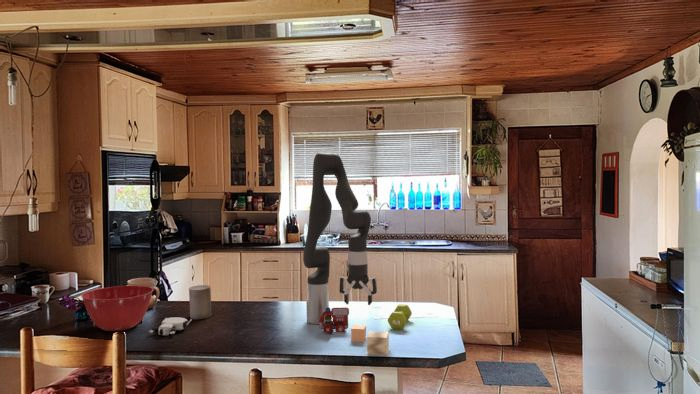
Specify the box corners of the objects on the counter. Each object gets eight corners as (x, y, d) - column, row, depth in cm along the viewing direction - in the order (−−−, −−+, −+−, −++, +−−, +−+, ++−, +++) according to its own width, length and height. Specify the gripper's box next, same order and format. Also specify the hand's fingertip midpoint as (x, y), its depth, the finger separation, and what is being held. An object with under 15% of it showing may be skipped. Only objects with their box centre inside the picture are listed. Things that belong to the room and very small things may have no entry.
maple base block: (367, 353, 191) (367, 337, 190) (369, 347, 198) (369, 331, 197) (386, 354, 190) (386, 337, 189) (388, 348, 196) (388, 331, 196)
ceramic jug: (116, 311, 258) (116, 282, 257) (135, 303, 272) (134, 276, 271) (150, 314, 254) (149, 284, 253) (167, 306, 268) (166, 278, 267)
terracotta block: (351, 344, 205) (351, 328, 205) (353, 340, 210) (353, 325, 210) (364, 344, 204) (363, 329, 204) (365, 340, 209) (365, 325, 209)
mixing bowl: (111, 316, 249) (110, 283, 248) (166, 319, 243) (165, 285, 242) (67, 334, 221) (65, 297, 220) (129, 338, 215) (127, 300, 214)
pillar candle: (215, 314, 251) (214, 282, 250) (205, 319, 241) (204, 286, 241) (195, 313, 252) (194, 282, 252) (185, 319, 243) (184, 286, 242)
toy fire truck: (320, 329, 225) (320, 304, 224) (350, 329, 224) (349, 305, 223) (318, 334, 218) (317, 309, 217) (348, 334, 217) (348, 309, 216)
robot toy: (174, 340, 215) (193, 327, 230) (173, 329, 215) (192, 316, 229) (147, 338, 218) (167, 325, 232) (146, 328, 217) (166, 315, 232)
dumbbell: (405, 331, 221) (405, 313, 221) (386, 329, 223) (386, 312, 223) (412, 320, 237) (412, 304, 237) (395, 319, 239) (394, 303, 239)
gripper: (337, 263, 203) (338, 306, 204) (374, 264, 201) (375, 307, 201) (341, 260, 210) (341, 301, 211) (377, 261, 208) (377, 302, 209)
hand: (358, 304), depth 206 cm, fingers open, 8 cm apart
